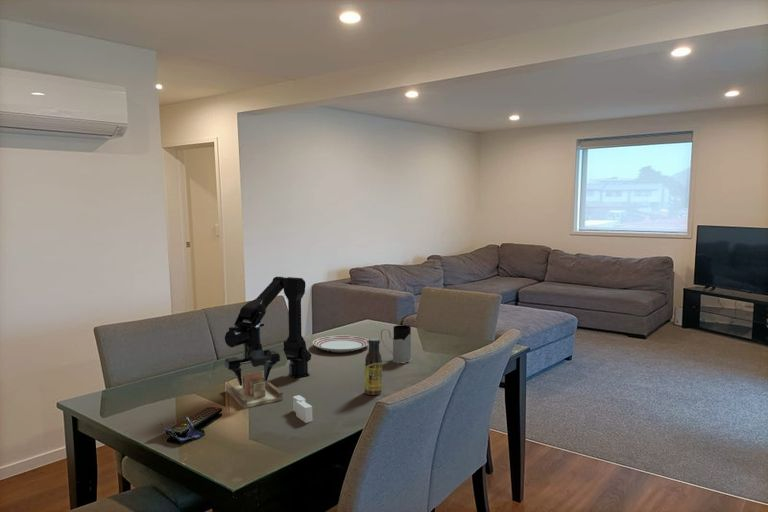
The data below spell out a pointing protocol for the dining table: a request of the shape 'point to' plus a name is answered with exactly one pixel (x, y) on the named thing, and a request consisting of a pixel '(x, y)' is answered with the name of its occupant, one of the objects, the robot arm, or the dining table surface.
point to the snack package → (192, 431)
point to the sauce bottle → (373, 368)
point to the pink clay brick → (250, 377)
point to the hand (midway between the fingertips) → (253, 383)
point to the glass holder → (401, 343)
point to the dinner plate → (340, 343)
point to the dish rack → (255, 393)
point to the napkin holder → (302, 409)
